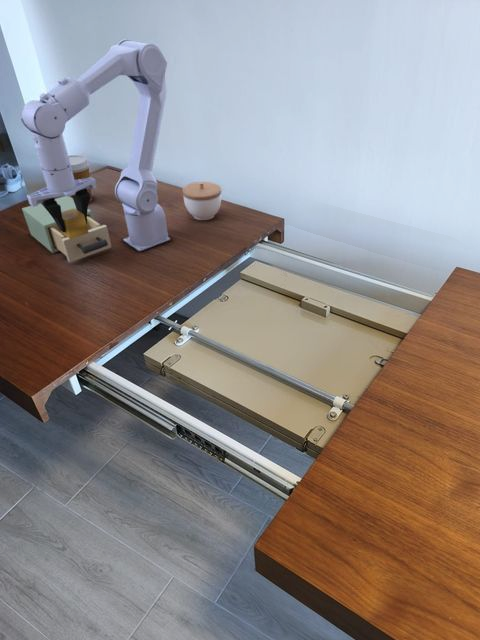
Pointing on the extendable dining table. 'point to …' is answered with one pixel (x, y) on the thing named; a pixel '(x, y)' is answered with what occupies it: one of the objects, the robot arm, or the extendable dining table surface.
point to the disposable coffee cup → (80, 168)
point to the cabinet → (46, 220)
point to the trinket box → (202, 199)
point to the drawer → (81, 241)
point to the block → (74, 223)
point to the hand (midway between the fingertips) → (73, 227)
